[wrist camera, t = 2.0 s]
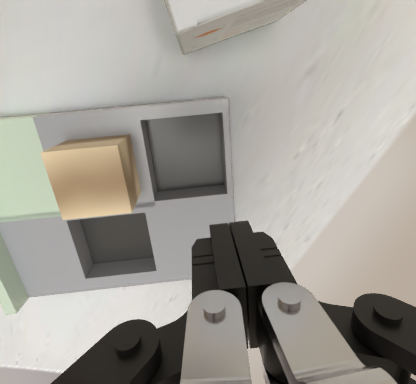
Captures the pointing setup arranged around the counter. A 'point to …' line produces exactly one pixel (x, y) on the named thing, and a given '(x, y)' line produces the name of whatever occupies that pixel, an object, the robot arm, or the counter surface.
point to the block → (93, 176)
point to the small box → (222, 19)
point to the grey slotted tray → (120, 223)
